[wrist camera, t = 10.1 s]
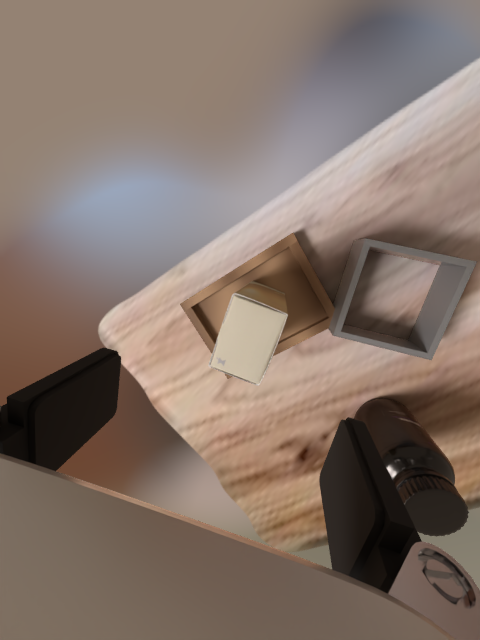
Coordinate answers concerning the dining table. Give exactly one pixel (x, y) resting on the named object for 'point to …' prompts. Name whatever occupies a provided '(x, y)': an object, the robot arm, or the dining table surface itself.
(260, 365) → the skincare box
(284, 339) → the tray
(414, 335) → the holder
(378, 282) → the dining table surface
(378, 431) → the supplement bottle
